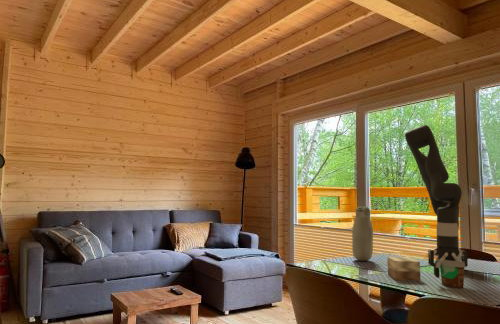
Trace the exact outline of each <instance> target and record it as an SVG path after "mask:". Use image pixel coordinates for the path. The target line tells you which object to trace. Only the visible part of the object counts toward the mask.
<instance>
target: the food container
mask: <svg viewBox="0 0 500 324" xmlns="http://www.w3.org/2000/svg"><path fill="white" fill-rule="evenodd" d="M465 268H466V267H465V263H464V262H462V261H455V260H454V261H450V260H444V261H443V262H442V263H441V264H440V267H439V272H440V279H441V280H440V281H441V285H442V286H444V287H447V288H453V289H464V283H465V280H464V279H465Z"/></svg>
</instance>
